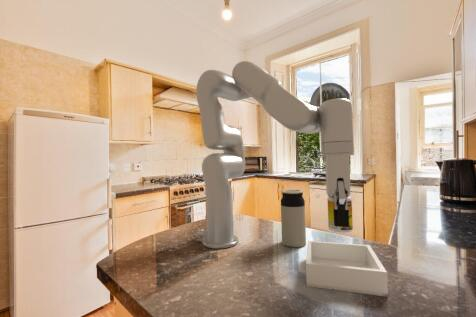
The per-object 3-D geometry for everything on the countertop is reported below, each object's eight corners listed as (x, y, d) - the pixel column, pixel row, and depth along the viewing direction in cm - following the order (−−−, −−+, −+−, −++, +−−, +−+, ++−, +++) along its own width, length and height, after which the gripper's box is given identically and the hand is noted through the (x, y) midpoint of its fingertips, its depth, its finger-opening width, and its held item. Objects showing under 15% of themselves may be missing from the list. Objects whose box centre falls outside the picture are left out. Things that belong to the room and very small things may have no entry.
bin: (306, 286, 53) (305, 263, 53) (308, 257, 68) (307, 240, 68) (387, 296, 48) (387, 272, 48) (370, 263, 63) (369, 245, 63)
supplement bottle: (344, 235, 54) (342, 190, 54) (323, 229, 59) (322, 188, 59) (357, 230, 57) (356, 188, 58) (337, 225, 62) (335, 187, 62)
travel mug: (311, 244, 78) (309, 191, 79) (292, 249, 75) (290, 193, 75) (295, 238, 86) (293, 188, 86) (277, 242, 82) (275, 190, 82)
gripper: (320, 151, 68) (322, 214, 68) (322, 149, 52) (325, 232, 51) (348, 150, 66) (351, 215, 65) (360, 147, 49) (364, 234, 49)
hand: (340, 222), depth 58 cm, fingers closed on supplement bottle, 5 cm apart
